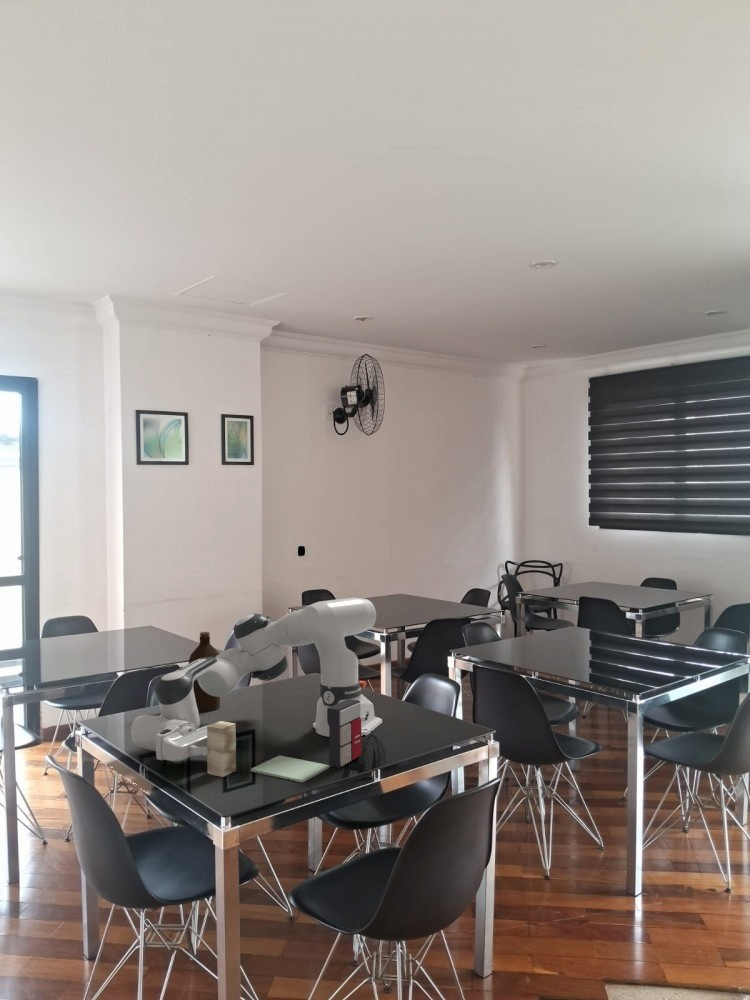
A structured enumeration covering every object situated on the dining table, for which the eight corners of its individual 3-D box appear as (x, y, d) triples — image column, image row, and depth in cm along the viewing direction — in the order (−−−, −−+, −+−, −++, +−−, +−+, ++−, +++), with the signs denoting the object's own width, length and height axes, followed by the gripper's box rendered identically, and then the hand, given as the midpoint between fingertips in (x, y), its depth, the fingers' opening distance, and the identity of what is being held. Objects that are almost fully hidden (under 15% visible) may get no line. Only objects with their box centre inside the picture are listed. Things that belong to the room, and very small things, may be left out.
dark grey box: (341, 769, 198) (341, 710, 198) (327, 766, 201) (326, 708, 201) (363, 756, 208) (362, 700, 208) (349, 754, 210) (349, 698, 210)
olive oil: (227, 708, 258) (227, 632, 258) (199, 714, 251) (198, 636, 251) (211, 702, 266) (210, 628, 266) (182, 708, 258) (182, 632, 258)
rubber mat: (279, 757, 208) (279, 755, 208) (329, 767, 200) (329, 765, 200) (250, 771, 197) (250, 768, 197) (302, 782, 189) (302, 780, 189)
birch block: (220, 767, 200) (220, 720, 200) (235, 770, 198) (235, 723, 198) (207, 773, 196) (207, 725, 196) (222, 777, 194) (222, 728, 194)
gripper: (208, 739, 213) (247, 747, 206) (151, 761, 195) (193, 770, 188) (207, 716, 213) (247, 723, 206) (151, 736, 195) (192, 744, 188)
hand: (221, 746), depth 197 cm, fingers open, 8 cm apart
